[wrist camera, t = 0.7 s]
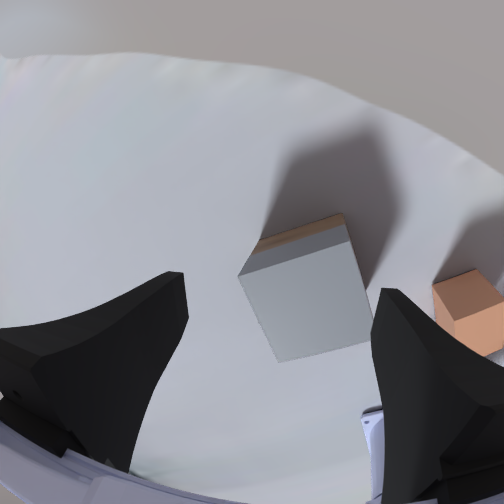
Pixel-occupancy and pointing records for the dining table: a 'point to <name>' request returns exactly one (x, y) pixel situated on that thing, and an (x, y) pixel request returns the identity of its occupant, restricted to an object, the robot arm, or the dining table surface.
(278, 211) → the dining table surface
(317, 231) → the walnut slab
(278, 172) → the dining table surface
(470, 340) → the tan clay cube
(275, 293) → the slate slab
